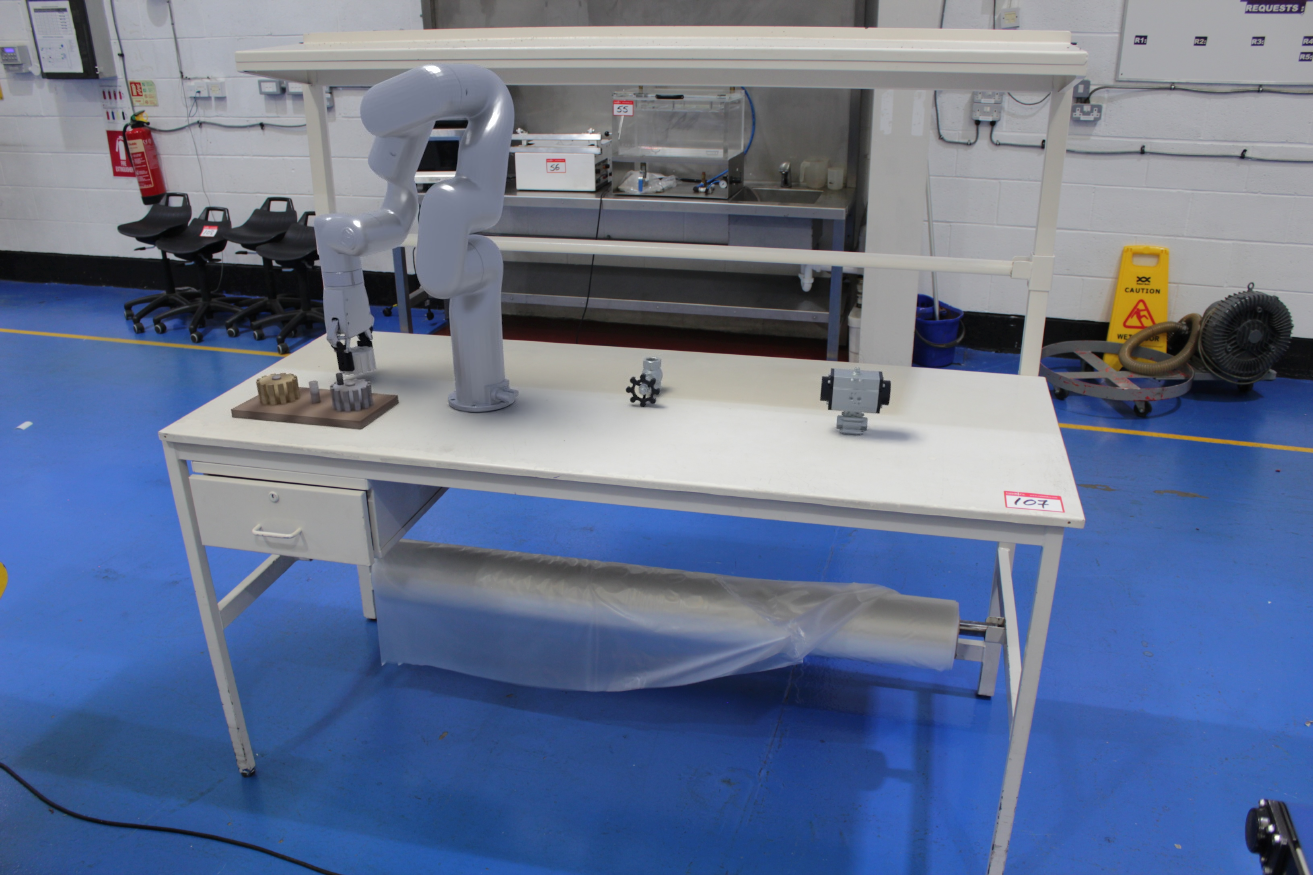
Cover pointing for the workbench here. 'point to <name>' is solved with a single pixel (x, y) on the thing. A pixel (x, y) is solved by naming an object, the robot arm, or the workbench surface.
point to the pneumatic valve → (854, 396)
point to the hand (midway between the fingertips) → (357, 364)
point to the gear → (362, 360)
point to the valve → (647, 381)
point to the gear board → (315, 410)
